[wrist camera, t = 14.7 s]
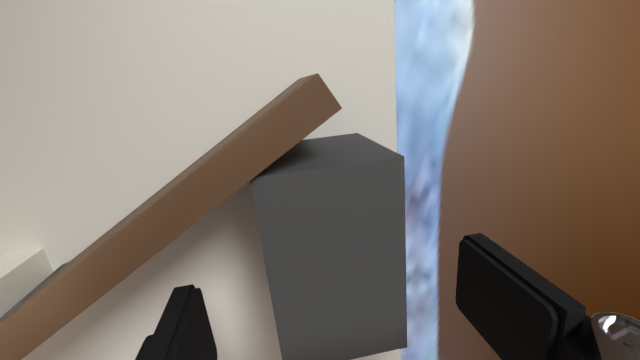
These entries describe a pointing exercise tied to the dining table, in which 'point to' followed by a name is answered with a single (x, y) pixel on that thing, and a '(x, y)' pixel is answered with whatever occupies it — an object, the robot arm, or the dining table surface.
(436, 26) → the dining table surface
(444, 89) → the dining table surface
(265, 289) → the cream base with post
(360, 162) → the block
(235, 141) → the wooden slat
